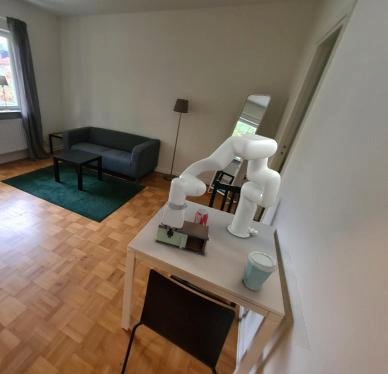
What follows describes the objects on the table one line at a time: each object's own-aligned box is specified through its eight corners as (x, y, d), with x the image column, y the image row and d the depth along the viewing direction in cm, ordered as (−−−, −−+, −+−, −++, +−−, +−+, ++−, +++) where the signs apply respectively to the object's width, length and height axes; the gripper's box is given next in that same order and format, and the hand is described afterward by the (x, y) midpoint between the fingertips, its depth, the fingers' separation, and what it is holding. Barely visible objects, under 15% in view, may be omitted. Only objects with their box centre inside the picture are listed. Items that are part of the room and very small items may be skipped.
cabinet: (205, 241, 116) (209, 226, 111) (204, 255, 106) (209, 239, 101) (160, 229, 122) (163, 214, 118) (155, 241, 112) (158, 226, 108)
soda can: (205, 233, 123) (209, 215, 118) (192, 230, 124) (197, 213, 119) (204, 226, 129) (208, 209, 124) (192, 224, 130) (196, 207, 125)
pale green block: (184, 246, 109) (187, 234, 105) (183, 251, 105) (187, 238, 102) (156, 238, 113) (158, 226, 109) (154, 243, 109) (156, 230, 106)
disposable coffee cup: (233, 277, 94) (243, 251, 88) (250, 271, 99) (260, 246, 92) (253, 298, 86) (266, 270, 79) (271, 290, 90) (284, 263, 84)
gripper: (193, 204, 99) (185, 236, 107) (161, 197, 103) (157, 228, 111) (191, 212, 93) (183, 245, 100) (158, 204, 96) (153, 236, 104)
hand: (169, 236), depth 105 cm, fingers closed
